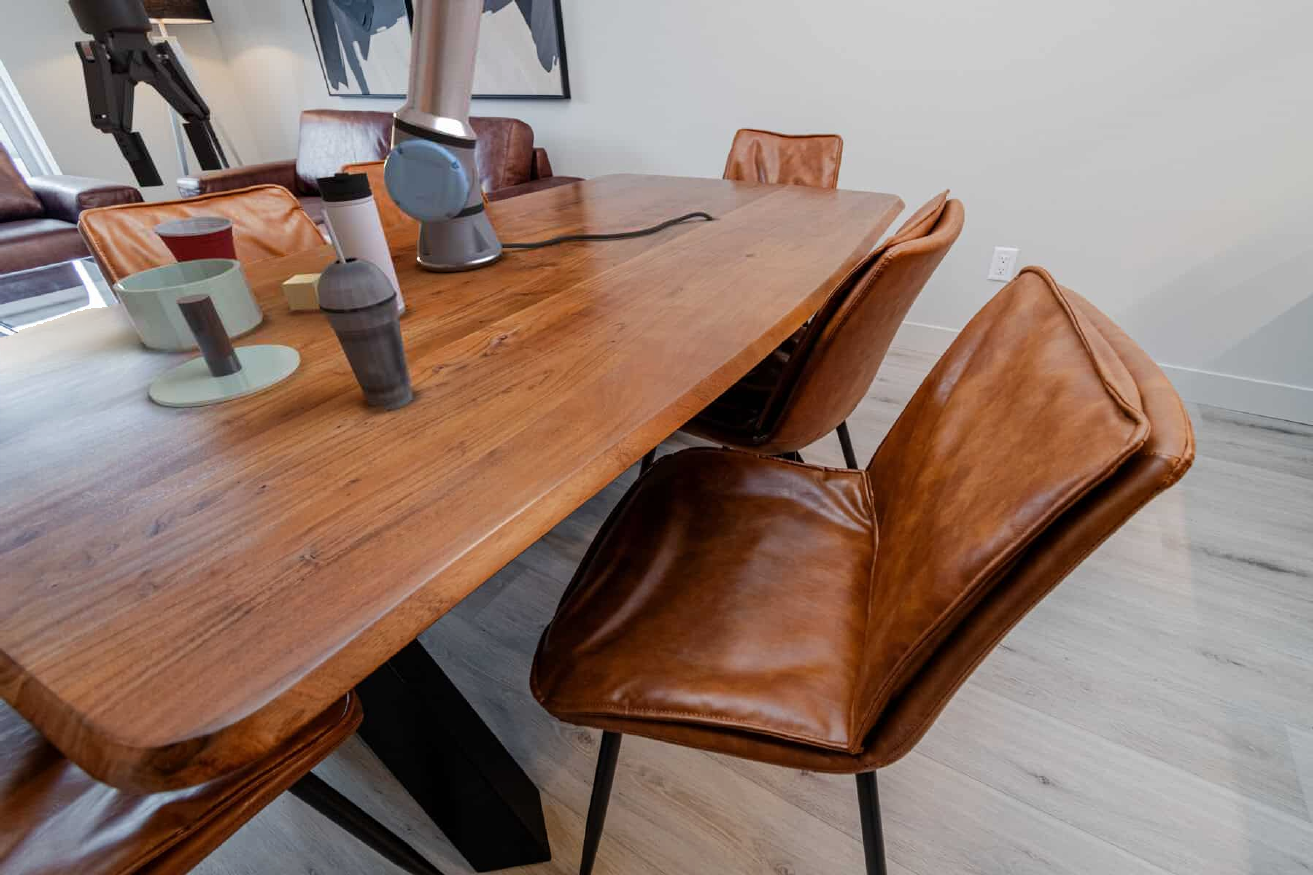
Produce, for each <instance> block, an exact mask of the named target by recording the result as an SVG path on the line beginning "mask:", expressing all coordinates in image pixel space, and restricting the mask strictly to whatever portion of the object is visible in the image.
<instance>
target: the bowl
mask: <svg viewBox="0 0 1313 875" xmlns="http://www.w3.org/2000/svg"><path fill="white" fill-rule="evenodd" d="M112 290H113V291H114V293H115V295H116V296H117V298H118V300H119V302H120V303H121V305H122V307H123V308H124V311H125V312H126V314H127V316H128V318H129V320H130V322H131V323H132V326H133V327H134V329H135V331H136V334H137V335H138V336H139V338H140V340H141V342H142V343H143V344H144V345H145V346H146V348H148V349H149V348H150V349H154V350H155V349H156V350H161V351H162V350H164V351H165V350H179V349H188V348H195V347H198V346H197V344H196V342H195V340H194V338H193V336H192V334H191V332H190V330H189V328H188V326H187V324H186V322H185V320H184V318H183V316H182V314H181V312H180V310H179V308H178V306H177V304H176V301H177V300H178V299H180V298H183V297H186V296H190V295H195V294H208V295H209V296H210V298H211V300H212V302H213V304H214V306H215V309H216V311H217V313H218V315H219V317H220V319H221V322H222V324H223V326H224V328H225V330H226V332H227V335H228V337H229V339H230V338H235V337H236V336H238V335H240V334H242V333H245V332H247V331H249V330H252V329H253V328H254V327H256V326H257V325H259V324H260V323H262V320H263V318H264V315H263V312H262V310H261V307H260V304H259V303H258V299H257V298H256V295H255V293H254V291H253V288H252V286H251V284H250V281H249V279H248V276H247V274H246V271H245V269H244V267H243V264H242V262H240V261H238V259H237V260H235V259H222V258H217V259H201V260H193V261H186V262H179V263H178V262H175V263H169V264H164V265H160V266H156V267H152V268H148V269H144V270H141V271H138V272H135V273H131V274H130V275H127V276H125V277H123V278H120V279H118V280H117V281H116V282H115V283H114V284H112Z"/></svg>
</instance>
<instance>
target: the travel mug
mask: <svg viewBox="0 0 1313 875" xmlns="http://www.w3.org/2000/svg"><path fill="white" fill-rule="evenodd" d="M315 182H316V185H317V187H318V191H319V193H320V196H321V199H322V204H323V205H324V210H325V211H326V213H327V216H328V219H329V221H330V224H331V226H332V229H333V231H334V234H335V236H336V239H337V241H338V244H339V246H340V249H341V252H342V254H343V257H344V258H349V257H356V258H361V259H364V260H367V261H369V262H371V263H373V264H375V265H376V266H377V267H379V268H380V269H381V270H382V271H383V272H384V273H385V275H386V276H387V277H388V279H389V280H390V282H391V284H392V286H393V288H394V290H395V291H396V293H397V296H396V299H397V304H398V316H401V315H402V314H404V313H405V312H406V306H405V303H404V299H403V295H402V292H401V288H400V285H399V282H398V281H399V280H398V278H397V275H396V271H395V267H394V264H393V260H392V257H391V253H390V250H389V247H388V243H387V239H386V235H385V233H384V229H383V225H382V222H381V219H380V215H379V211H378V208H377V204H376V200H375V198H374V197H375V196H374V194H373V192H372V189H371V188H370V187H371V185H370V182H369V178H368V175H367V172H360V173H359V172H358V173H352V174H351V173H350V174H349V172H348V171H347V172H346V171H345V172H337V173H333V176H325V177H316V178H315Z"/></svg>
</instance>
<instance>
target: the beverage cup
mask: <svg viewBox="0 0 1313 875" xmlns="http://www.w3.org/2000/svg"><path fill="white" fill-rule="evenodd" d="M319 213H320V216H321V218H322V221H323V223H324V227H325V229H326V231H327V233H328V236H329V239H330V242H331V244H332V246H333V249H334V251H335V254H336V257H337V259H336V260H334V261H333V262H331V263H329V264H328V265H327V266H326V267H325V268H324V269H323V271H322V272H321V273H322V274H321V273H320V274H321V276H320V278H319V281H318V286H317V294H318V299H319V308H320V309H319V311H321V312H323V313H322V314H323V315H324V317H325V320H326V321H327V323H328V324H329V326H330V328H331V329H333V331H334V333H335V335H336V337H337V340H338V342H339V344H340V346H341V348H342V350H343V352H344V355H345V357H346V359H347V361H348V363H349V366H350V367H351V370H352V373H353V374H354V377H355V379H356V381H357V383H358V385H359V387H360V389H361V392H362V394H363V396H364V397H365V399H366V400H367V403H368V404H370V405H371V406H373V407H388V409H387V411H393V410H397V409H400V408H402V407H404V406H406V405H407V404H409V403H410V402H411V401H412V400H413V397H414V396H413V391H412V385H411V384H412V381H411V377H410V371H409V365H408V362H407V356H406V352H405V346H404V341H403V336H402V331H401V327H400V320H399V315H398V304H397V299H396V296H397V293H396V291H395V290H394V288H393V286H392V284H391V282H390V280H389V279H388V277H387V276H386V275H385V273H384V272H383V271H382V270H381V269H380V268H379V267H377V266H376V265H375V264H373V263H371V262H369V261H367V260H364V259H361V258H356V257H349V258H344V257H343V254H342V252H341V249H340V246H339V244H338V241H337V239H336V236H335V234H334V231H333V229H332V226H331V224H330V221H329V219H328V216H327V213H326V210H325V209H321V210H319Z"/></svg>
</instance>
